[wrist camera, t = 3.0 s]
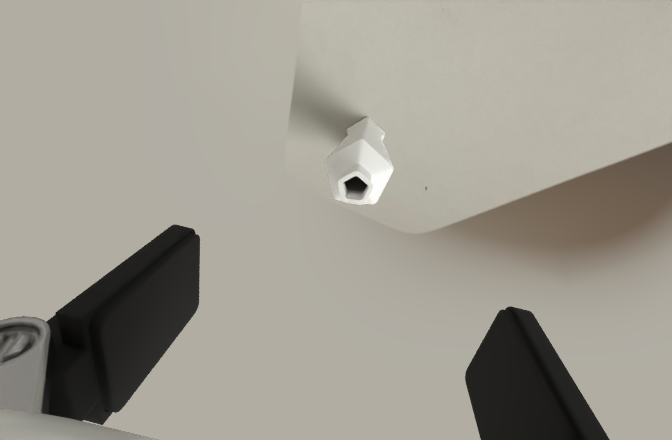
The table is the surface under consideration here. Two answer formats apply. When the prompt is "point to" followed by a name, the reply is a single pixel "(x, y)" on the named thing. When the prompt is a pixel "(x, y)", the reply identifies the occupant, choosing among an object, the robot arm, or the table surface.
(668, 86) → the table surface
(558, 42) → the table surface
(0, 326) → the robot arm
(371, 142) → the white faceted vase
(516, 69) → the table surface
